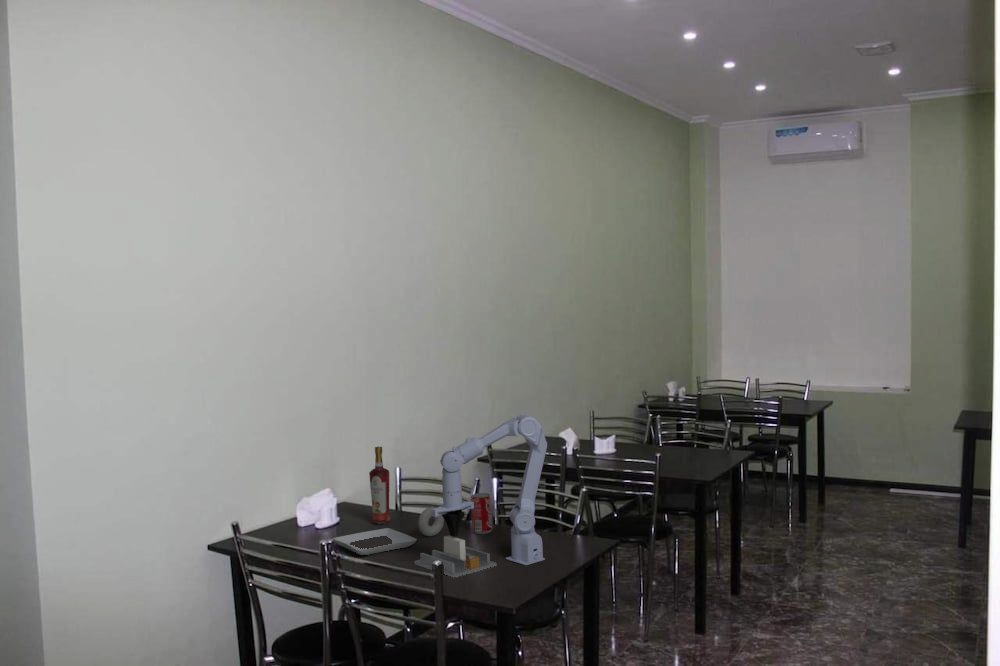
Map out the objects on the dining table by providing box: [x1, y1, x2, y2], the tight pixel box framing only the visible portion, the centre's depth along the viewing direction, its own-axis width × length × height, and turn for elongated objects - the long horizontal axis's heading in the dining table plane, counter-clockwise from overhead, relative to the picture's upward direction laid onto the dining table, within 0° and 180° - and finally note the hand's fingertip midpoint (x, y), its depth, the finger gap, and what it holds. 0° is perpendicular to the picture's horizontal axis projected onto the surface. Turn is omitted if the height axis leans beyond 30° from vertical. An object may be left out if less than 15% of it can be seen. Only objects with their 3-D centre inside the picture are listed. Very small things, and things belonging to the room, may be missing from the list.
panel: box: [443, 535, 466, 560], centre depth 257 cm, size 8×2×7 cm, turn 40°
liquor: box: [368, 446, 391, 522], centre depth 313 cm, size 7×7×28 cm
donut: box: [417, 506, 445, 537], centre depth 292 cm, size 10×4×10 cm, turn 129°
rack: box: [413, 545, 497, 579], centre depth 257 cm, size 20×16×4 cm
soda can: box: [470, 492, 493, 535], centre depth 295 cm, size 7×7×13 cm
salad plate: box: [332, 527, 417, 556], centre depth 281 cm, size 21×21×3 cm
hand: (454, 536), depth 257 cm, fingers closed
